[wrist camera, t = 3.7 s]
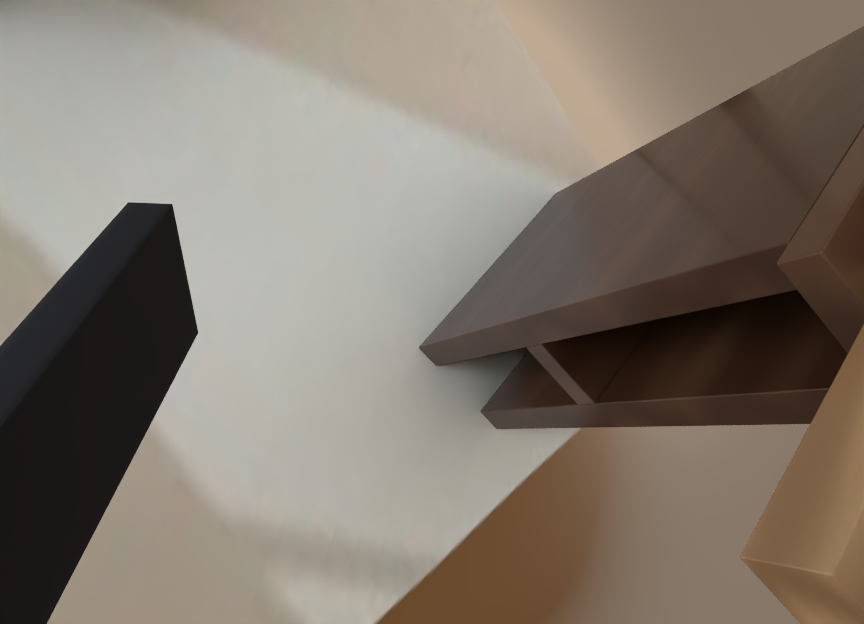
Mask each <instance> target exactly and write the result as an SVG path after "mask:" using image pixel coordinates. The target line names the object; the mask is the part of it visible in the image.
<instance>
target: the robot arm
mask: <svg viewBox="0 0 864 624" xmlns="http://www.w3.org/2000/svg"><path fill="white" fill-rule="evenodd" d="M197 334H198V330H197V325H196V320H195V315H194V310H193V305H192V300H191V295H190V290H189V285H188V280H187V275H186V270H185V265H184V260H183V255H182V250H181V245H180V240H179V235H178V230H177V226H176V221H175V216H174V211H173V206H172V204H152V203H127V205H126V206H125V207H124V208H123V209H122V210H121V211H120V212H119V213H118V215H117V216H116V217H115V218H114V219H113V220H112V221H111V222H110V224H109V225H108V226H107V227H106V228H105V229H104V230H103V231H102V233H101V234H100V235H99V236H98V237H97V238H96V239H95V240H94V242H93V243H92V244H91V245H90V246H89V247H88V248H87V249H86V251H85V252H84V253H83V254H82V255H81V256H80V257H79V258H78V260H77V261H76V262H75V263H74V264H73V265H72V266H71V267H70V269H69V270H68V271H67V272H66V273H65V274H64V275H63V276H62V278H61V279H60V280H59V281H58V282H57V283H56V284H55V285H54V286H53V288H52V289H51V290H50V291H49V292H48V293H47V294H46V295H45V297H44V298H43V299H42V300H41V301H40V302H39V303H38V304H37V306H36V307H35V308H34V309H33V310H32V311H31V312H30V313H29V315H28V316H27V317H26V318H25V319H24V320H23V321H22V322H21V324H20V325H19V326H18V327H17V328H16V329H15V330H14V331H13V333H12V334H11V335H10V336H9V337H8V338H7V339H6V340H5V342H4V343H3V344H2V345H1V346H0V624H47V622H48V620H49V618H50V616H51V614H52V612H53V610H54V608H55V606H56V604H57V603H58V601H59V599H60V597H61V595H62V593H63V591H64V589H65V587H66V585H67V583H68V581H69V580H70V578H71V576H72V574H73V572H74V570H75V568H76V566H77V564H78V562H79V560H80V558H81V556H82V555H83V553H84V551H85V549H86V547H87V545H88V543H89V541H90V539H91V537H92V535H93V533H94V532H95V530H96V528H97V526H98V524H99V522H100V520H101V518H102V516H103V514H104V512H105V510H106V508H107V507H108V505H109V503H110V501H111V499H112V497H113V495H114V493H115V491H116V489H117V487H118V485H119V484H120V482H121V480H122V478H123V476H124V474H125V472H126V470H127V468H128V466H129V464H130V462H131V460H132V459H133V457H134V455H135V453H136V451H137V449H138V447H139V445H140V443H141V441H142V439H143V437H144V436H145V434H146V432H147V430H148V428H149V426H150V424H151V422H152V420H153V418H154V416H155V414H156V412H157V411H158V409H159V407H160V405H161V403H162V401H163V399H164V397H165V395H166V393H167V391H168V389H169V387H170V386H171V384H172V382H173V380H174V378H175V376H176V374H177V372H178V370H179V368H180V366H181V364H182V363H183V361H184V359H185V357H186V355H187V353H188V351H189V349H190V347H191V345H192V343H193V341H194V339H195V338H196V336H197Z"/></svg>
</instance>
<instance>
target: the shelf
mask: <svg viewBox="0 0 864 624" xmlns="http://www.w3.org/2000/svg"><path fill="white" fill-rule="evenodd" d="M863 325H864V26H863V27H861V28H860V29H858V30H856V31H854V32H852V33H850V34H848V35H847V36H845V37H843V38H841V39H839V40H837V41H836V42H834V43H832V44H830V45H828V46H826V47H825V48H823V49H821V50H819V51H817V52H815V53H813V54H812V55H810V56H808V57H806V58H805V59H802V60H801V61H799V62H797V63H795V64H793V65H791V66H790V67H788V68H786V69H784V70H782V71H780V72H779V73H777V74H775V75H773V76H771V77H769V78H767V79H766V80H764V81H762V82H760V83H758V84H756V85H755V86H753V87H751V88H749V89H747V90H746V91H743V92H742V93H740V94H738V95H736V96H734V97H732V98H731V99H729V100H727V101H725V102H723V103H721V104H720V105H718V106H716V107H714V108H712V109H710V110H709V111H707V112H705V113H703V114H701V115H699V116H697V117H696V118H694V119H692V120H690V121H689V122H687V123H685V124H683V125H681V126H679V127H677V128H676V129H674V130H672V131H670V132H668V133H666V134H664V135H663V136H661V137H659V138H657V139H655V140H653V141H651V142H650V143H648V144H646V145H644V146H642V147H640V148H639V149H637V150H635V151H633V152H631V153H629V154H627V155H626V156H624V157H622V158H620V159H618V160H616V161H615V162H613V163H611V164H609V165H607V166H606V167H604V168H602V169H600V170H598V171H596V172H594V173H592V174H591V175H589V176H587V177H585V178H583V179H581V180H580V181H578V182H576V183H574V184H572V185H570V186H569V187H567V188H565V189H563V190H561V191H559V192H558V193H556V194H555V195H554V196H553V197H552V199H551V200H550V201H549V202H548V203H547V204H546V205H545V206H544V208H543V209H542V210H541V211H540V212H539V213H538V214H537V215H536V217H535V218H534V219H533V220H532V221H531V222H530V223H529V224H528V226H527V227H526V228H525V229H524V230H523V231H522V232H521V233H520V235H519V236H518V237H517V238H516V239H515V240H514V241H513V242H512V244H511V245H510V246H509V247H508V248H507V249H506V250H505V251H504V253H503V254H502V255H501V256H500V257H499V258H498V259H497V260H496V262H495V263H494V264H493V265H492V266H491V267H490V268H489V269H488V270H487V272H486V273H485V274H484V275H483V276H482V277H481V278H480V279H479V281H478V282H477V283H476V284H475V285H474V286H473V287H472V288H471V290H470V291H469V292H468V293H467V294H466V295H465V296H464V297H463V299H462V300H461V301H460V302H459V303H458V304H457V305H456V306H455V308H454V309H453V310H452V311H451V312H450V313H449V314H448V315H447V317H446V318H445V319H444V320H443V321H442V322H441V323H440V324H439V326H438V327H437V328H436V329H435V330H434V331H433V332H432V333H431V335H430V336H429V337H428V338H427V339H426V340H425V341H424V342H423V344H422V345H421V346H420V347H419V348H420V349H421V350H422V351H423V352H424V353H425V354H426V355H427V356H428V357H429V358H430V360H431V361H432V362H433V363H434V364H435V365H436V366H439V365H444V364H449V363H454V362H458V361H463V360H468V359H473V358H477V357H482V356H487V355H491V354H496V353H501V352H506V351H510V350H515V349H520V348H524V347H526V348H527V349H528V350H529V351H528V352H527V354H526V355H525V356H524V357H523V359H522V360H521V361H520V362H519V364H518V365H517V366H516V367H515V369H514V370H513V371H512V372H511V374H510V375H509V376H508V377H507V379H506V380H505V381H504V382H503V384H502V385H501V386H500V387H499V389H498V390H497V391H496V392H495V394H494V395H493V396H492V397H491V399H490V400H489V401H488V402H487V404H486V405H485V406H484V407H483V409H482V410H481V413H482V414H483V415H484V416H485V417H486V418H487V419H488V420H489V421H490V422H491V423H492V424H493V425H494V426H495V427H496V428H497V429H523V428H584V427H643V426H644V427H646V426H705V425H706V426H707V425H764V424H765V425H766V424H767V425H768V424H811V422H812V420H813V418H814V416H815V415H816V413H817V411H818V409H819V407H820V405H821V403H822V401H823V400H824V398H825V396H826V394H827V392H828V390H829V388H830V386H831V385H832V383H833V381H834V379H835V377H836V375H837V373H838V372H839V370H840V368H841V366H842V364H843V362H844V360H845V358H846V357H847V355H848V353H849V351H850V349H851V347H852V345H853V343H854V342H855V340H856V338H857V336H858V334H859V332H860V330H861V328H862V327H863Z"/></svg>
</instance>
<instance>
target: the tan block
mask: <svg viewBox="0 0 864 624" xmlns="http://www.w3.org/2000/svg"><path fill="white" fill-rule="evenodd" d="M740 558H741V559H742V560H743V561H744V563H746V565H747V566H748V567H749V568H750V569H751V570H752V571H753V572H754V574H755V575H756V576H757V577H758V578H759V579H760V580H761V581H762V582H763V584H764V585H765V586H766V587H767V588H768V589H769V590H770V591H771V592H772V593H773V595H774V596H775V597H776V598H777V599H778V600H779V601H780V602H781V603H782V604H783V606H784V607H785V608H786V609H787V610H788V611H789V612H790V613H791V614H792V616H793V617H795V619H796V620H797V621H798V622H799V623H800V624H864V325H863V327H862V328H861V330H860V332H859V334H858V336H857V338H856V340H855V342H854V343H853V345H852V347H851V349H850V351H849V353H848V355H847V357H846V358H845V360H844V362H843V364H842V366H841V368H840V370H839V372H838V373H837V375H836V377H835V379H834V381H833V383H832V385H831V386H830V388H829V390H828V392H827V394H826V396H825V398H824V400H823V401H822V403H821V405H820V407H819V409H818V411H817V413H816V415H815V416H814V418H813V420H812V422H811V424H810V426H809V428H808V430H807V431H806V433H805V435H804V437H803V439H802V441H801V443H800V445H799V446H798V448H797V450H796V452H795V454H794V456H793V458H792V460H791V461H790V463H789V465H788V467H787V469H786V471H785V473H784V475H783V476H782V478H781V480H780V482H779V484H778V486H777V488H776V489H775V492H774V493H773V495H772V497H771V499H770V501H769V503H768V505H767V506H766V508H765V510H764V512H763V514H762V516H761V518H760V519H759V521H758V523H757V525H756V527H755V529H754V531H753V533H752V534H751V536H750V538H749V540H748V542H747V544H746V546H745V548H744V549H743V551H742V553H741V555H740Z"/></svg>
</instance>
